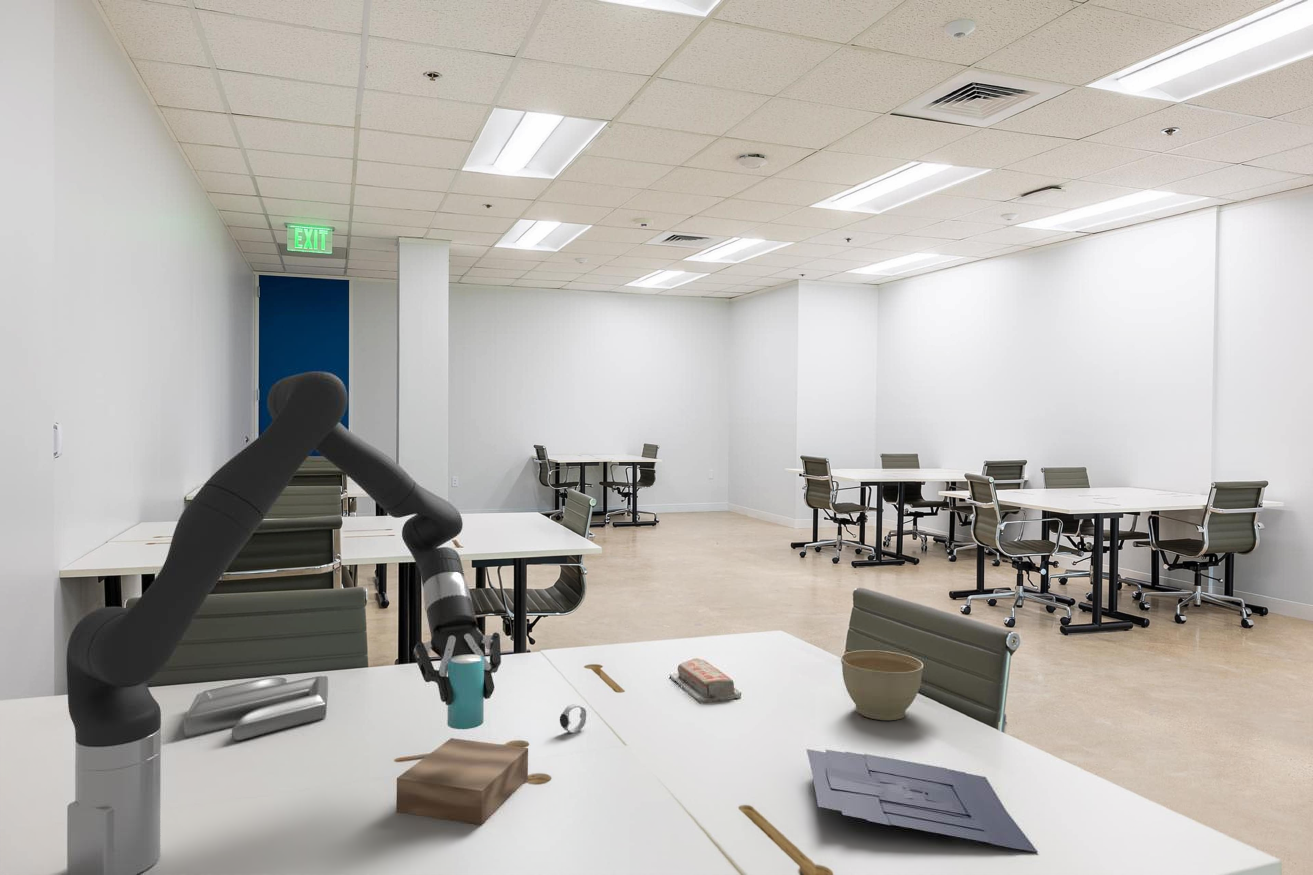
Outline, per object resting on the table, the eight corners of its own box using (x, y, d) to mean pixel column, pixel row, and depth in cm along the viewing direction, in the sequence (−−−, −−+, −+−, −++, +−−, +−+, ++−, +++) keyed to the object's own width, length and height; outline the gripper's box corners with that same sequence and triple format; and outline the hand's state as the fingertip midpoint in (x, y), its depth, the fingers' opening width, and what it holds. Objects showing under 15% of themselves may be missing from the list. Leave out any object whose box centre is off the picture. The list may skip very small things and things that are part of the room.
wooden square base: (481, 825, 116) (482, 790, 116) (396, 811, 120) (396, 778, 120) (527, 778, 132) (528, 748, 132) (450, 767, 135) (451, 737, 135)
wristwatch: (558, 732, 151) (559, 706, 151) (579, 726, 155) (579, 700, 155) (568, 737, 149) (568, 710, 149) (589, 730, 153) (589, 704, 153)
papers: (803, 760, 138) (806, 739, 138) (982, 792, 135) (985, 770, 135) (816, 831, 114) (820, 806, 113) (1035, 872, 111) (1039, 846, 110)
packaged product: (743, 677, 172) (700, 682, 168) (742, 700, 172) (700, 705, 168) (708, 654, 189) (669, 658, 185) (708, 675, 189) (668, 679, 185)
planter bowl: (939, 722, 160) (940, 667, 160) (872, 732, 154) (873, 676, 154) (888, 696, 175) (889, 646, 175) (824, 704, 169) (825, 653, 169)
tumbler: (472, 731, 122) (473, 665, 122) (440, 726, 124) (441, 661, 124) (489, 718, 128) (490, 655, 127) (458, 714, 129) (459, 652, 129)
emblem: (248, 662, 175) (364, 673, 169) (248, 687, 175) (364, 698, 169) (141, 707, 147) (276, 720, 142) (141, 736, 148) (276, 750, 142)
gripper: (408, 597, 128) (426, 695, 118) (496, 589, 135) (520, 680, 125) (401, 623, 133) (417, 718, 123) (485, 613, 140) (508, 703, 130)
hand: (469, 699), depth 124 cm, fingers closed on tumbler, 5 cm apart
